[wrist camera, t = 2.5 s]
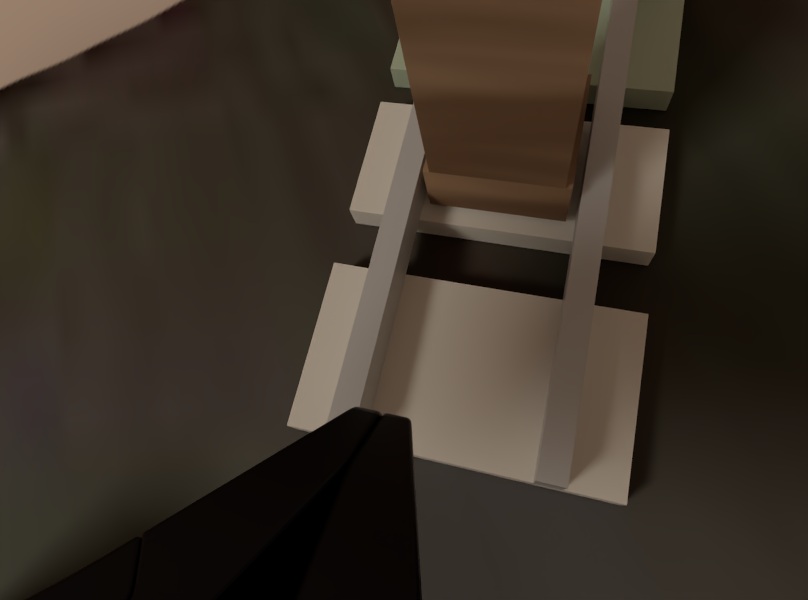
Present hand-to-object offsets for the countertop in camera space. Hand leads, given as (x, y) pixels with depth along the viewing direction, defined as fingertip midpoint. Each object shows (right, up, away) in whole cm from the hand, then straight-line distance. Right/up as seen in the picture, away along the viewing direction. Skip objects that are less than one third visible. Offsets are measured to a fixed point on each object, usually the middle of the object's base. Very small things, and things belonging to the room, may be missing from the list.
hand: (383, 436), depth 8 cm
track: (+4, +6, +12) cm, 14 cm away
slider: (+4, +7, +11) cm, 14 cm away
